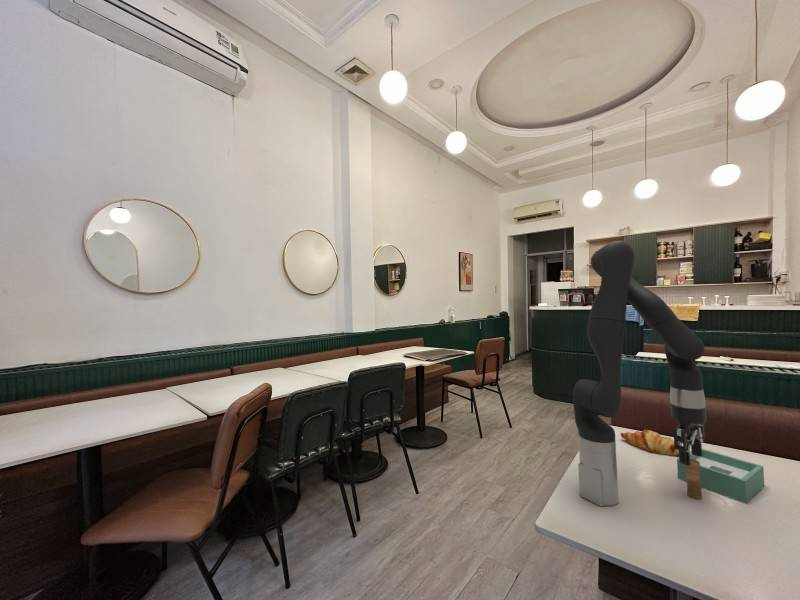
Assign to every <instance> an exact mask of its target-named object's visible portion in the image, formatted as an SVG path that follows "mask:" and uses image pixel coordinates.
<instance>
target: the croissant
mask: <svg viewBox="0 0 800 600" xmlns="http://www.w3.org/2000/svg"><path fill="white" fill-rule="evenodd" d="M620 437H621V438H622V439H624V440H625V441H626V442H628V443H629V444H630V445H631V446H633V447H637V448H638V449H641V450H643V451H646V452H651V453H653V452H654V453H655V454H660V455H666V456H667V455H668V456H678V457H679V450H677V449H675V448H674V439H672V438H670V437H665V436H661V435H660V434H659V433H658V432H656V431H652V430H650V429H643V430H642V431H637V430H636V431H635V432H629V431H628V432H621V433H620ZM681 446H683V444H682V445H681Z"/></svg>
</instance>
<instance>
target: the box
mask: <svg viewBox="0 0 800 600" xmlns="http://www.w3.org/2000/svg"><path fill="white" fill-rule="evenodd" d="M690 459H694V460H697V461H699V462H700V476H701V488H704V489H707V490H709V491H712V492H715V493H717V494H720V495H722V496H725V497H728V498H730V499H734V500H736V501H739V502H742V503H745V504H748V503H749V502H750V501H751V500H753V498H755V496H756V495H757V494H759V493H760V492H761V491H762V490H763V489H764V488H765V487H766V486H765V472H764V469H765V468H764V465H761V464H756V463H754V462H750V461H747V460H743V459H740V458H735V457H732V456H729V455H725V454H722V453H719V452H715V451H711V450H708V449H704V448H702V456H696V455H693V454H692V452H691V450H690ZM676 466H677V479H680V480H681V481H684V482H687V478H686V465H685V464H682V463H680V461H679V457H678V458H676Z"/></svg>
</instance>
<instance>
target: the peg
mask: <svg viewBox="0 0 800 600" xmlns="http://www.w3.org/2000/svg"><path fill="white" fill-rule="evenodd" d="M686 478H687V481H686V492H687V496H688V498H691V499H693V500H696V501H697V500H698V501H701V500H702V497H703V496H702V494H703V493H702V487H701V476H700V462H699V461H697V460H694V459H690V465H686Z"/></svg>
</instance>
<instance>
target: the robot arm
mask: <svg viewBox="0 0 800 600" xmlns="http://www.w3.org/2000/svg"><path fill="white" fill-rule="evenodd" d="M634 263H635V252H634V249H633V248H632V246H631V245H630V244H629V243H628V242H626V241H624V240H615V241H612V242H608V243H607V244H605V245H604V246H602V247H601V248H599V249H597V251H595V252H594V253H593V254H592V256H591V258H590V265H591V268H592V269H593V271H594V272H595V273H596V274H597V275H598V276H600V278H601V279H600V280H601V281H600V286H599V289H598V292H597V294H596V296H595V299H594V301H593V303H592V306H591V309H590V311H589V315H588V323H587V330H586V332H587V339H588V342H589V343H590V344H589V345H590V346H591V348H592V349H593V352H594V354H595V355H596V357H597V359H598V362H599V367H600V381H597V380H591V379H586V378H584V379H579V380H578V381H576V383H575V384H574V387H573V389H572V390H573V391H572V404H573V413H574V421H575V425H576V428H577V434H578V454H579V455H578V456H579V462H578V466H577V467H578V482H579V483H578V486H579V497H582V498H584V499H586V500H587V499H588V501H589V500H590V502H592V503H593V504H595V505H597V506H599V507H603V506H606V507H607V506H616V505H618V504H619V499H620V498H619V485H618V483H619V482H618V481H619V480H618V463H617V444H616V442H617V441H616V431H615V429H614V428H613V427H612V426H611V425H610V424H608V423H607V422H606V421H605V420H603V419H602V417H604V418H611V419H612V418H614V417H616V415H618V413H619V411H620V408H621V402H622V359H623V357H622V356H623V347H624V346H623V345H624V337H625V331H626V320H627V319H626V315H627V314H626V313H627V307H628V306H627V305H628V303H629V304H630V305H631V307H632V308H634V310H635V311H636V312H637V313H638V315H639V316H640V317H641V318H642V320H643V321H644V323H646V325H648V327H650V329H651V330H652V331H653V332H654V333H656V334H657V335H659V336H660V337H661V338H662V339H663V340H664V353H665V357H666V361H667V365H668V368H669V382H670V388H669V389H670V390H669V398H670V402H669V403H670V415H671V418H673V419H674V420H676V421H678V425H677V427H673V441H674V448H675V449H677V450H679V456H678V458H679V461H680V463H682V464H685V465H690V451H691V452H692V454H693V455H696V456H702V449H703V446H702V445H703V443H704V440H705V439H706V435H705V423H706V422H707V408H706V407H707V406H706V397H705V391H704V384H703V383H704V382H703V381H704V380H703V374H702V371H701V370H700V369H699V368H698V366H697V362H696V360H699V359H700V358H702V357H703V356H704V354H705V350H706V348H705V345H704V342H703V340H701V338H699V336H698V335H697V334H696V333H695V332H693V330H692V329H691V328H689V327H688V326H687V325H686V324H685V323H684V322H682V321H681V319H680V318H679V317H678V316H677V315H676V314H675V313H674V311H673V309H671V307H670V306H668V304H667V303H666V302H665V301H664V300H663V299H662V298H661V297H660V296H658V295H657V294H656V293H654V292H653V291H651V290H650V289H648V288H647V287H645V286H644V285H642V284H641V283H640V282H638V281H637V280H635V279H634V277H633V276H632V272H633V268H634ZM681 445H682V446H681Z"/></svg>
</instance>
